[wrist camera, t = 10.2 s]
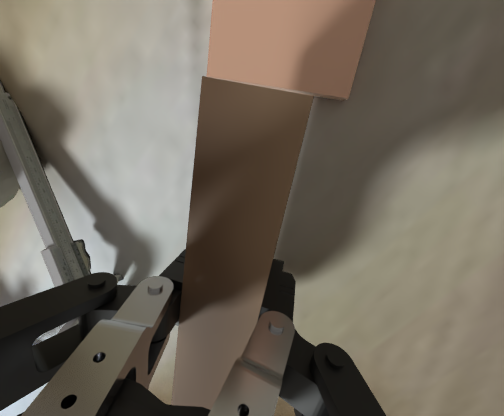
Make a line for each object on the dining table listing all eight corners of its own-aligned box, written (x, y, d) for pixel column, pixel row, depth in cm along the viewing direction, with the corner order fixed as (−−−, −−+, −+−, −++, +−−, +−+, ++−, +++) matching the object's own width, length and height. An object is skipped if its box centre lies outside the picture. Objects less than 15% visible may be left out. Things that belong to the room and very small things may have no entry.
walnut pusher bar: (310, 108, 11) (313, 96, 6) (247, 358, 16) (225, 449, 12) (245, 96, 11) (202, 76, 6) (206, 344, 17) (169, 427, 12)
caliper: (135, 292, 23) (78, 350, 17) (126, 295, 24) (67, 352, 18) (1, 75, 19) (-139, 52, 13) (-7, 81, 19) (-147, 62, 13)
